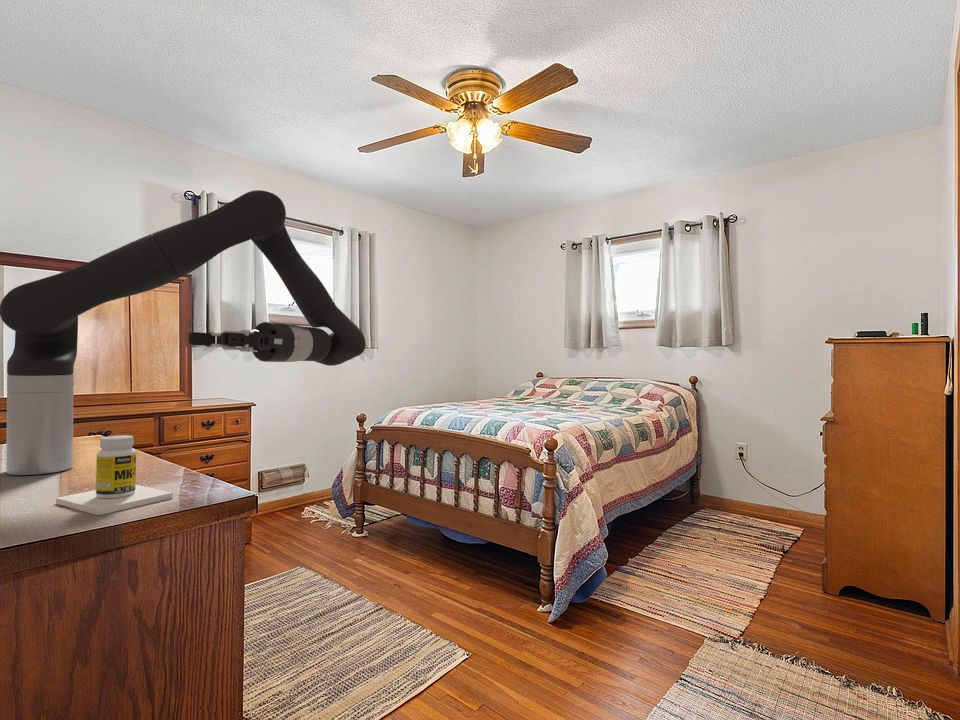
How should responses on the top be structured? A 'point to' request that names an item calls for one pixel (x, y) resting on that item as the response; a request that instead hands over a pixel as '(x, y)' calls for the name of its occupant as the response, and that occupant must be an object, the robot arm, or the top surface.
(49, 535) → the top surface
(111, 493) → the supplement bottle
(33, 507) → the top surface
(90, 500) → the mat
